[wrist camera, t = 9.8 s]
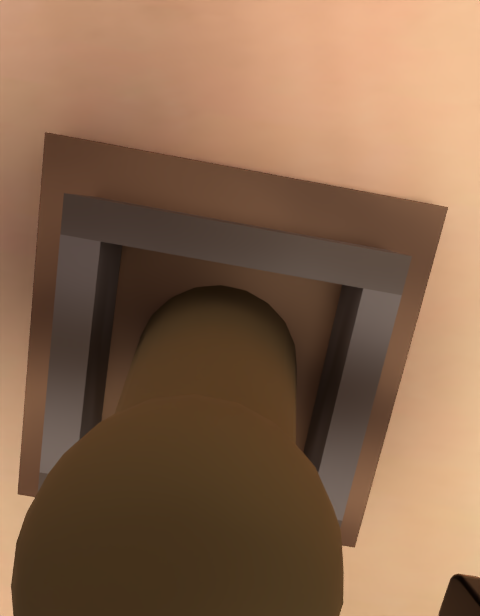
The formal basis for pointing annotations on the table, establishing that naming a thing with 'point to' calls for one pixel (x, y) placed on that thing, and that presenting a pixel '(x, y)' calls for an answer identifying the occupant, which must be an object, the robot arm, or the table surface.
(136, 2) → the table surface
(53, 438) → the shaker holder
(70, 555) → the cork
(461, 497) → the table surface
